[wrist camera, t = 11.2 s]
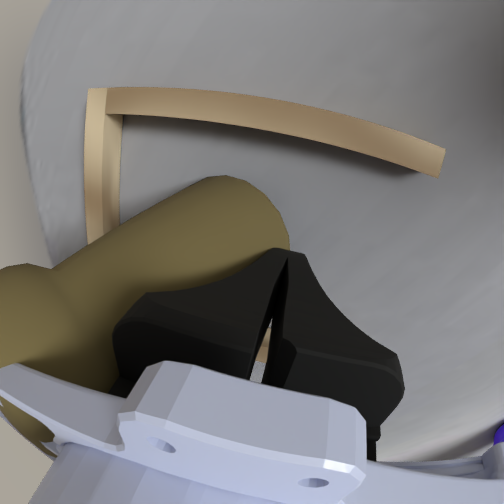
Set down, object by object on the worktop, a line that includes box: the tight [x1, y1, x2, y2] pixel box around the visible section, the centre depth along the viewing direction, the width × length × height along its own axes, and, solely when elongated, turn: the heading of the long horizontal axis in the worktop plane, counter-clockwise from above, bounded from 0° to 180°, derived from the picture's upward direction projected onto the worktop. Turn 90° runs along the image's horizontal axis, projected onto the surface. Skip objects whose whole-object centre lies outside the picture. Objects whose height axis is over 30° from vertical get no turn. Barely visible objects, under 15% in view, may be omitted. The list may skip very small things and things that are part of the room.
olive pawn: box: [0, 175, 290, 458], centre depth 9 cm, size 6×6×11 cm
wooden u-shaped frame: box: [84, 87, 446, 363], centre depth 13 cm, size 12×15×2 cm
